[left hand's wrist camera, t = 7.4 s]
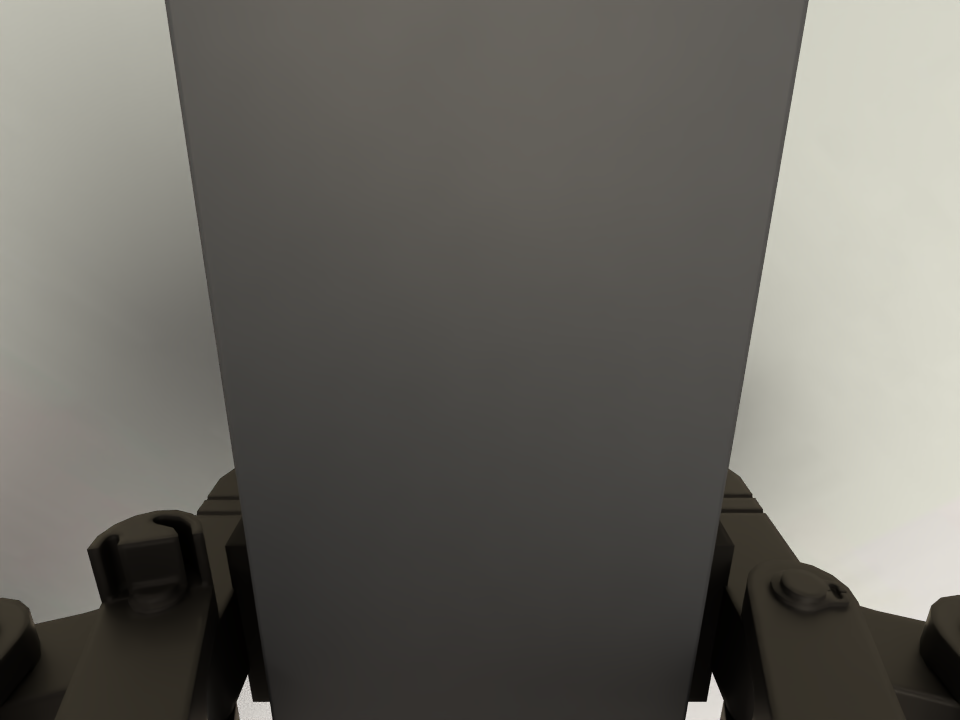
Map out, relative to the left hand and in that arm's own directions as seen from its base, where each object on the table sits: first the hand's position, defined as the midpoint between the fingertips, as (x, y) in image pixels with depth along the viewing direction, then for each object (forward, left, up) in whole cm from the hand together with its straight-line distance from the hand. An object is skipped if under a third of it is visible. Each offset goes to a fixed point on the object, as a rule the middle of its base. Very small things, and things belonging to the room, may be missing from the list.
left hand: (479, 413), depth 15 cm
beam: (-3, +34, -1) cm, 34 cm away
